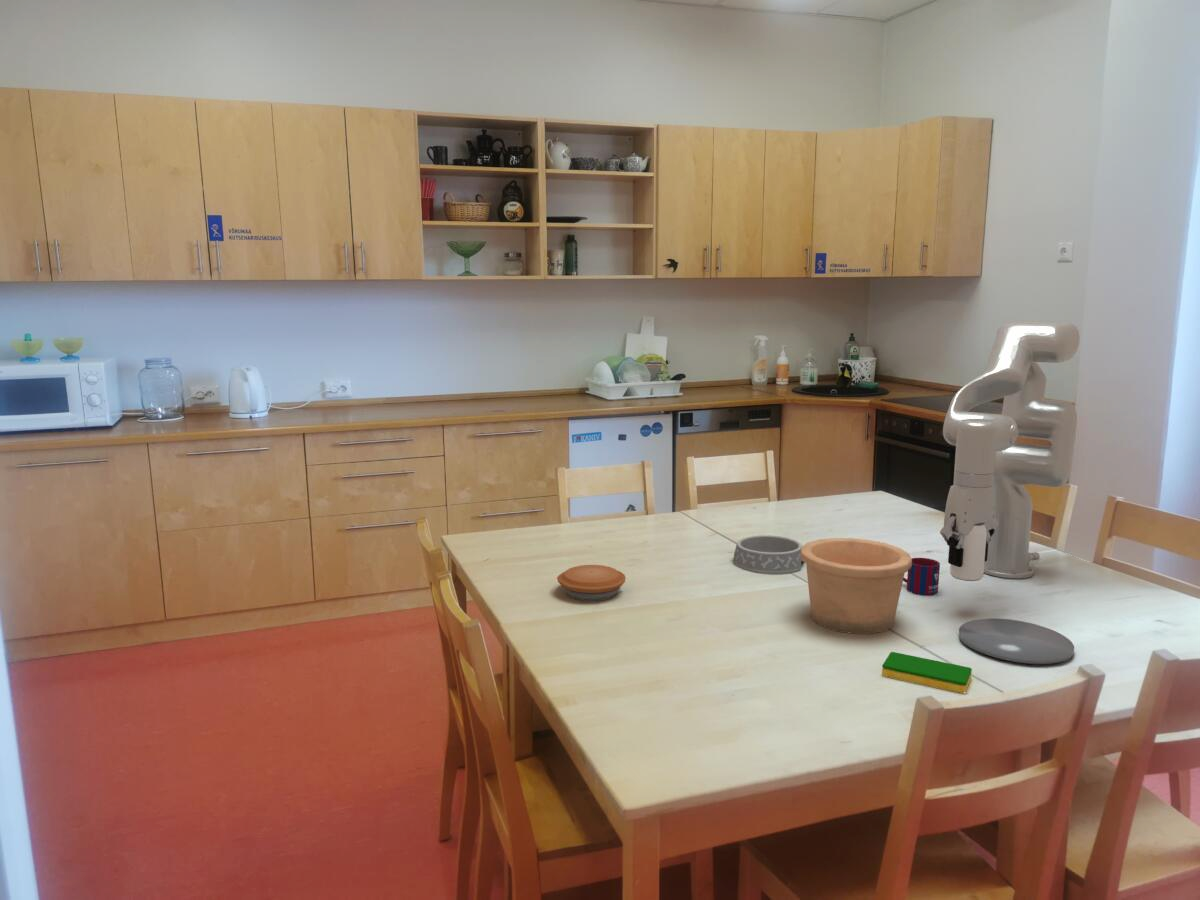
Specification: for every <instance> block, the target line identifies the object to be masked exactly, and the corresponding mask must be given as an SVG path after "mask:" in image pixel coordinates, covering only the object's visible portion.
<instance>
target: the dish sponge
mask: <svg viewBox="0 0 1200 900" xmlns="http://www.w3.org/2000/svg"><path fill="white" fill-rule="evenodd" d="M881 666H882V669H881V675H882V676H883V677H885V676H887V678H890V677H892V678H891V679H894V678H895V680H898V681H899V680H900V681H904V682H909V683H912V682H913V684H917V683H918V684H917V685H922V684H923V686H926V685H928V686H927V687H931V686H932V687H931V688H935V687H937V688H936V689H940V688H941V689H940V690H944V689H946V690H945V691H949V690H950V691H951V692H953V691H956V692H955V693H958V692H960V693H959V694H962V693H964V692H966V693H967V691H968V688H969V686H970V682H971V680H972V675H973V668H971V667H969V666H964V665H959V664H954V663H949V662H944V661H939V660H934V659H929V658H925V657H921V656H916V655H915V656H914V655H910V654H905V653H900V652H895V651H890V652H889V654H888V655H887V657H886V659H885V661H884V662H883V664H882V665H881ZM968 685H969V686H968ZM950 691H949V692H950ZM964 694H965V693H964Z"/></svg>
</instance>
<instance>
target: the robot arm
mask: <svg viewBox="0 0 1200 900" xmlns="http://www.w3.org/2000/svg"><path fill="white" fill-rule="evenodd" d="M1079 331H1080V330H1079V329H1078V326H1076V325H1075V324H1074V323H1072V322H1063V321H1062V322H1060V321H1059V322H1058V321H1054V322H1053V321H1052V322H1051V321H1050V322H1049V321H1013V322H1006V323H1004V324H1002V325H1000V326H999V328H998V329H997V332H996V336H995V339H994V342H993V345H992V348H991V351H990V354H989V356H988V359H987V363H986V365H985V369H984V372H983V373H982V374H980V375H978V376H977V377H974V378H973V379H972V380H970V381H969V382H967V383H966V384H965V385H963V386H962V387H961V388H960V389H959V390H958V391H957V392H956V393H955V394H954V396H952V399H951V401H950V404H949V406H948V409H947V412H946V414H945V418H944V422H943V425H942V426H943V427H942V434H943V439H944V440H945V441H946V443H948V444H949V445H951V446H954V447H955V455H954V470H953V471H954V472H953V485H950V488H949V491H948V494H947V499H946V503H945V508H944V509H945V511H944V519H943V527H942V528H941V529H940V532H939V534H940V535H941V536H942V538H943V540H944V541H945V542H946V545H947V546H948V559H947V562H948V564H949V565H950V564H952V565H954V566H957V567H962V564H963V548H961V546H962V544H963V541H964V538H965V536H966V535H968V534H969V533H970V531H971V530H972V529H973V527H974V525H981V524H984V523H985V527H986V529H987V535H986V548H985V561H984V573H983V574H986V575H990V576H994V577H998V578H1004V579H1028V578H1030V577H1032V576H1033V575H1035V574H1034V573H1035V569H1034V567H1032V566H1031V565H1030V563H1031V562H1032V561H1038V560H1039V559H1040V557H1041V556H1040V555H1041V554H1039V552H1037V551H1034V552H1029V551H1030V550H1029V549H1030V539H1031V529H1032V516H1033V506H1034V505H1033V499H1032V497H1031V494H1030V493H1029V491H1028V490H1027V488H1026V487H1025V486H1026V485H1030V486H1039V487H1046V488H1047V487H1048V488H1061V487H1064V486H1065V485H1066V484H1067V483H1068V481H1069V478H1070V475H1071V469H1072V464H1073V457H1074V450H1075V449H1074V448H1075V441H1076V435H1077V426H1078V414H1077V408H1076V407H1075V405H1074V404H1073V403H1071V402H1070V401H1067V400H1063V399H1062V400H1061V399H1047V398H1045V395H1046V394H1045V393H1046V387H1047V377H1046V374H1045V373H1044V371H1043V369H1042V368H1041V366H1040V365H1039V364H1038V363H1048V364H1049V363H1053V364H1054V363H1055V364H1056V363H1057V364H1060V363H1064V362H1066V361H1069V360H1071V359H1072V358H1073V357H1074V356H1075V354H1076V353H1077V351H1078V348H1079V345H1080V339H1081V338H1080V332H1079ZM1000 399H1003V401H1002V402H1003V403H1002V410H1001V414H998V413H997V414H996V413H988V412H987V413H986V412H975V411H970V410H972V409H973V408H975V407H977V406H980V405H982V404H985V403H988V402H993V401H996V400H1000ZM1018 438H1023V439H1024V438H1026V439H1031V440H1032V439H1033V440H1034V439H1035V440H1045V441H1049V442H1050V443H1051V445H1043V444H1034V443H1027V442H1026V443H1025V442H1017V439H1018ZM956 528H957V529H958V532H955V529H956ZM955 535H958V536H959V537H958V540H956V539H955Z"/></svg>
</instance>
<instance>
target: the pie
mask: <svg viewBox="0 0 1200 900" xmlns="http://www.w3.org/2000/svg"><path fill="white" fill-rule="evenodd" d="M556 580H557V582H558V584H560V586H561V587H562V588H563V590H564V591H565V593H566V594H567V595H568V596H569V597H571V598H573V599H575V600H579V601H585V602H586V601H587V602H596V601H603V600H604V601H605V600H608V599H611V598H614V597H615V596H616V595H617V593H618V592H619V590H620V589H621V587H622V586H623V584H625V582H626V575H625V573H623V572H621V571H620V570H617V569H616V568H613V567H611V566H606V565H602V564H600V565H599V564H585V565H578V566H573V567H570V568H568V569H566V570H565V571H563V572H562V573H560V574H559V575H557V577H556Z"/></svg>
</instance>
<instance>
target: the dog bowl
mask: <svg viewBox="0 0 1200 900" xmlns="http://www.w3.org/2000/svg"><path fill="white" fill-rule="evenodd" d="M802 546H803V544H802V543H801V542H800V541H798V540H796V539H794V538H791V537H786V536H780V535H771V534H769V535H766V534H764V535H761V534H760V535H759V534H758V535H751V536H750V535H749V536H747V537H743V538H741V539H739V540H738V541H737V542H736V546H735V549H734V553H733V561H732V564H733V566H735V567H737V568H739V569H741V570H743V571H747V572H749V573H755V574H761V575H769V576H770V575H772V576H773V575H775V576H778V575H779V576H780V575H789V574H795V573H798V572H801V567H802V562H803V561H802V560H801V547H802Z"/></svg>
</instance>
